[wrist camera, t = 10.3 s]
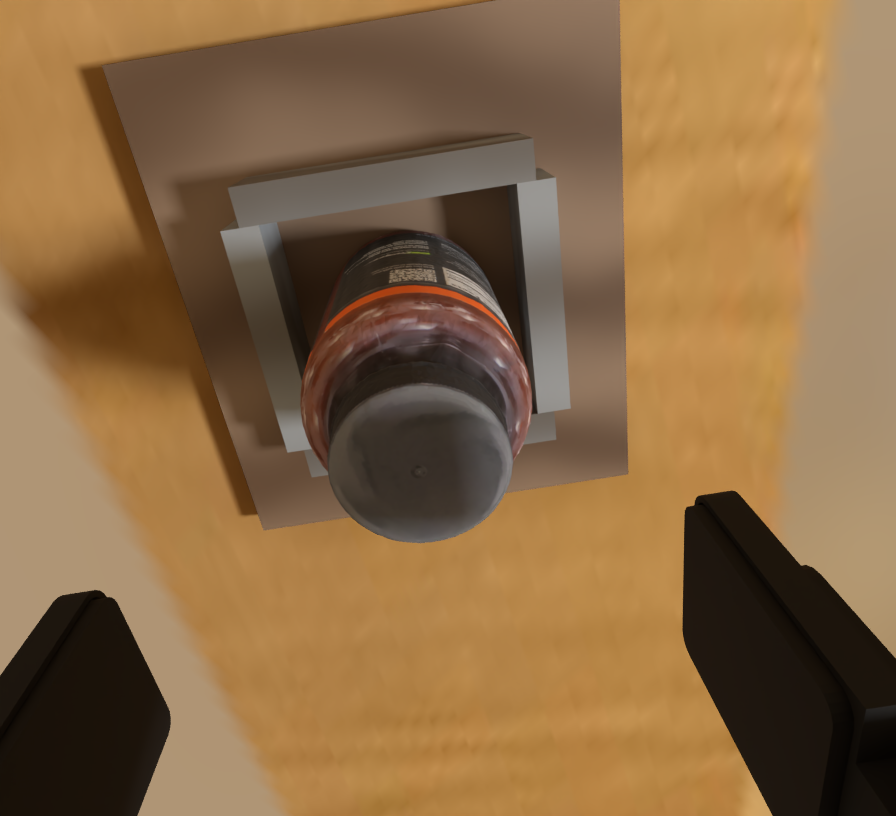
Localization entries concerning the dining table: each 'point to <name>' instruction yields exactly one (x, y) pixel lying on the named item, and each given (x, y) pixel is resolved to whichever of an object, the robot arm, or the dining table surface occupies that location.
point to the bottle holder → (395, 210)
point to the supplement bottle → (415, 390)
